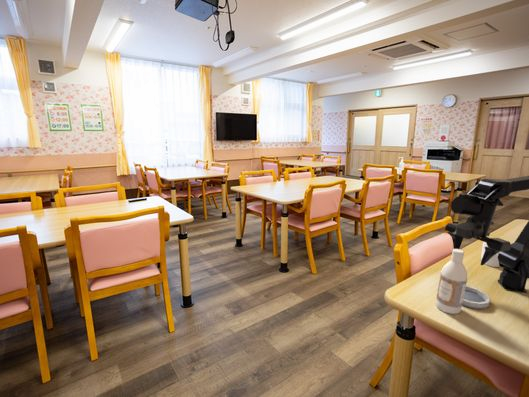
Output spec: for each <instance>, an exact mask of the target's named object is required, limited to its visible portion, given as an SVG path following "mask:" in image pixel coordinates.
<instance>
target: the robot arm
mask: <svg viewBox="0 0 529 397" xmlns="http://www.w3.org/2000/svg"><path fill="white" fill-rule="evenodd" d="M526 190H527V191H528V190H529V175H524V176H519V177H512V178H507V179H500V178H483V179H480V180H479V182H478V183H477V184H476V185H475V186H474V187H473V188H471V189H470V190H469V191H468V192H467V193H463V192H462V193H460V192H459V194H458V196H456V197H455V198H453V200H452V201H450V208H451V211H452V212H453V213H454V214H457V215H468V217H467V219H466V221H465V222H461V223H456V222H455V223H454V222H448V223H447V224H446V225H445V226H444V231H446V232H447V234H448V235H449V236H450V238H451V240H452V245H453V246H452V247H453V249H460V248H461V245H462V243H463V241H464V239H466V240H471V239H472V238H473V239H475V240H478V241H481V242H482V243H483V242H486V243H487V245H488V247H485V253H484V255H483V258H482V260H481V259H480V265H481V266H485V263H486V262H487V261H488V260H489V259H491V258H492V257H493V256H494V255H495V254H497V253H499V255H498V261H499V268H503V269H502V270H501V271H500V274H499V278H498V280H497V282H498V283H499V285H500V286H502V287H503V289H504V290H506V291H513V292H520V293H526V294H527V293H528V290H526V289H525V288H526V285H527V281H528V279H529V220H528V221H527V222H526V224H525V226H524V227H523V229H522V230H521V231H520V233H519V235H518V236H517V238H516V239H515V240H514V242H513V243H511V242H510V241H509V240H505V239H504V238H503V239H502V238H500V237H489V236H490V234H491V233H490V232H489V231H490V227H491V225H494V222H495V221H493V219H494V215H495V213H496V210H497V207H498V206H499V207H503V206H504V203H503V202H502V201H501V199H503V198H505V197H508V196H510V195H511V194H512V193H517V192H522V191H526Z"/></svg>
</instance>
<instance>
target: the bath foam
mask: <svg viewBox="0 0 529 397" xmlns="http://www.w3.org/2000/svg"><path fill="white" fill-rule="evenodd" d="M464 255H465V251H463V250H462V249H460V248H459V249H454V248H453V249H452V253H451V258H450V260H449V261H448V262H447V263H446V264H444V266H443V267H442V269H441V272H440V276H439V280H438V288H437V293H436V299H435V305H436V307H437V308H438V309H439V310H440V311H442V312H444V313H446V314H452V315H457V314H459V313H461V311H462V307H463V306H462V303H463V298H464V293H465V288H466V285H467V283H468V272H467V268H466V267H465V265H464V263H463V260H464Z"/></svg>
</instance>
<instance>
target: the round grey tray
mask: <svg viewBox="0 0 529 397" xmlns="http://www.w3.org/2000/svg"><path fill="white" fill-rule="evenodd" d="M490 302H491V298H490V297H489V295H488V294H487V293H486V292H484V291H482V290H480V289H479V288H476V287H473V286H470V285H467V284H466V288H465V293H464V298H463V303H462V307H466V308H468V309H474V310H486V309H488V308H490V307H489V306H490Z"/></svg>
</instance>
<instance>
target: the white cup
mask: <svg viewBox="0 0 529 397" xmlns="http://www.w3.org/2000/svg"><path fill="white" fill-rule="evenodd" d="M485 247H488V245H487V243H486V242H483V241H482V248H481V257H480V261H481V260H482V258H483V255H484V253H485ZM498 255H499V253H497V254H495V255H494V256H493V257H492V258H491V259H489V260H488V261H487V262H486V263H485V264H484V266H485V265H486V266H489V267H493V268H498V267H499V268H500V266H499V261H498Z"/></svg>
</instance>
